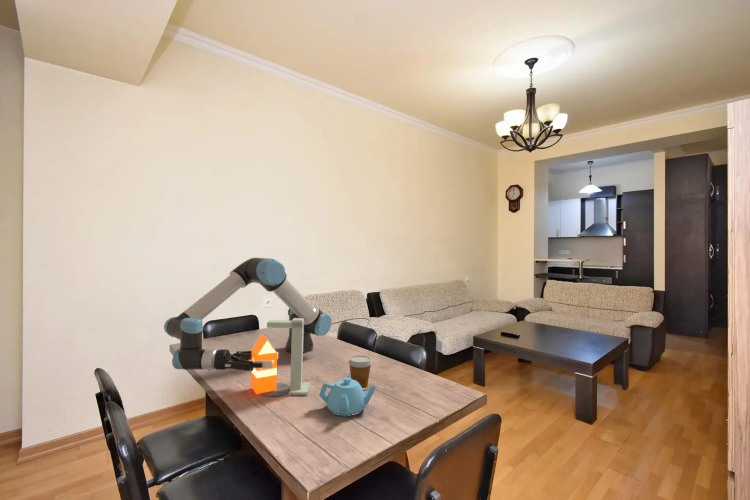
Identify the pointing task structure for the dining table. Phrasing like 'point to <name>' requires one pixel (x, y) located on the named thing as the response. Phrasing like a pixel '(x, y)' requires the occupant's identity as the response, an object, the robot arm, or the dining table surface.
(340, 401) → the teapot
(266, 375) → the orange juice
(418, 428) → the dining table surface
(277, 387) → the seat pad
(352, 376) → the disposable coffee cup
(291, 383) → the stand
